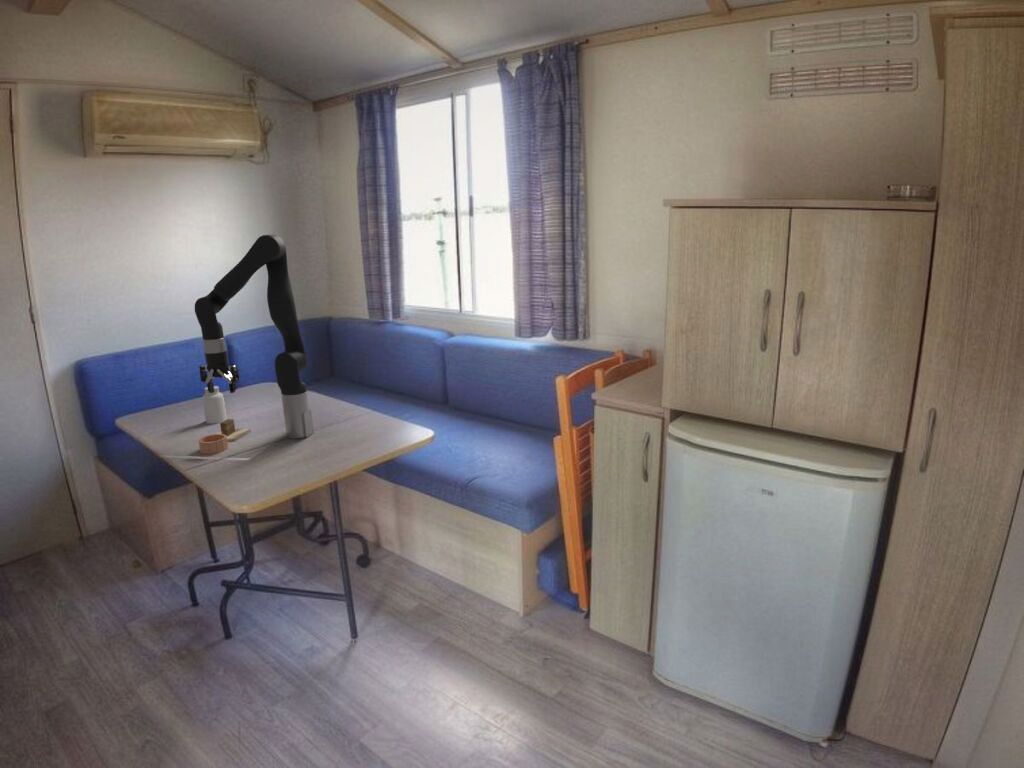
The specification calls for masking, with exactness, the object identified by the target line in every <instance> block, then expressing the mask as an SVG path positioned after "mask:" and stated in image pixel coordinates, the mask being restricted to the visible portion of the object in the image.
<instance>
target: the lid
mask: <svg viewBox="0 0 1024 768" xmlns="http://www.w3.org/2000/svg"><path fill="white" fill-rule="evenodd" d="M219 424H220V426H219V427H220V430H219V431H217V432H215V433H214V434H224V435H227V441H235V440H237V439H238V438H240V437H242V436H243V435H245V434H246V433H248V432H250V431H251V429H250V428H249V429H248V428H236V427H235V420H234V419H233V418H230V419H229V418H227V420H225V421H224V422H221V423H219ZM250 433H251V432H250ZM248 434H249V433H248ZM246 435H247V434H246ZM246 435H245V436H246ZM243 437H244V436H243ZM243 437H242V438H243ZM240 439H241V438H240ZM238 440H239V439H238ZM238 440H237V441H238ZM235 442H236V441H235Z"/></svg>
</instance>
